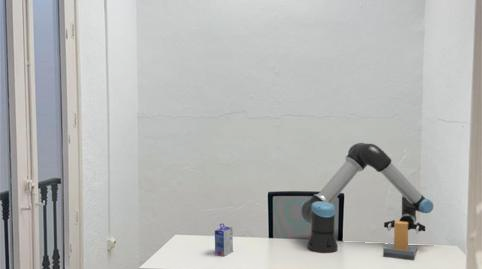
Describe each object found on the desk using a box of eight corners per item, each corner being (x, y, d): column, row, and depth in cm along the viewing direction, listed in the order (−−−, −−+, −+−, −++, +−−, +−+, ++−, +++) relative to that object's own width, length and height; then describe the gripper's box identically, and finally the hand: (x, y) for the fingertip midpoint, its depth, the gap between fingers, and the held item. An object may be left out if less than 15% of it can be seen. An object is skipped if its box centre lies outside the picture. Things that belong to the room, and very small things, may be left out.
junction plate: (383, 256, 224) (383, 242, 223) (388, 247, 242) (388, 233, 242) (413, 260, 218) (414, 245, 218) (416, 250, 236) (417, 236, 236)
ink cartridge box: (223, 250, 231) (223, 221, 231) (233, 251, 228) (233, 222, 228) (214, 255, 222) (214, 225, 222) (224, 256, 219) (224, 226, 219)
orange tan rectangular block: (394, 249, 230) (394, 223, 230) (395, 246, 236) (395, 220, 235) (406, 250, 228) (407, 224, 227) (407, 247, 233) (408, 222, 233)
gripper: (431, 231, 247) (429, 239, 227) (383, 226, 257) (377, 234, 238) (431, 217, 246) (429, 224, 227) (383, 213, 257) (377, 219, 238)
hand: (402, 229), depth 233 cm, fingers open, 13 cm apart
